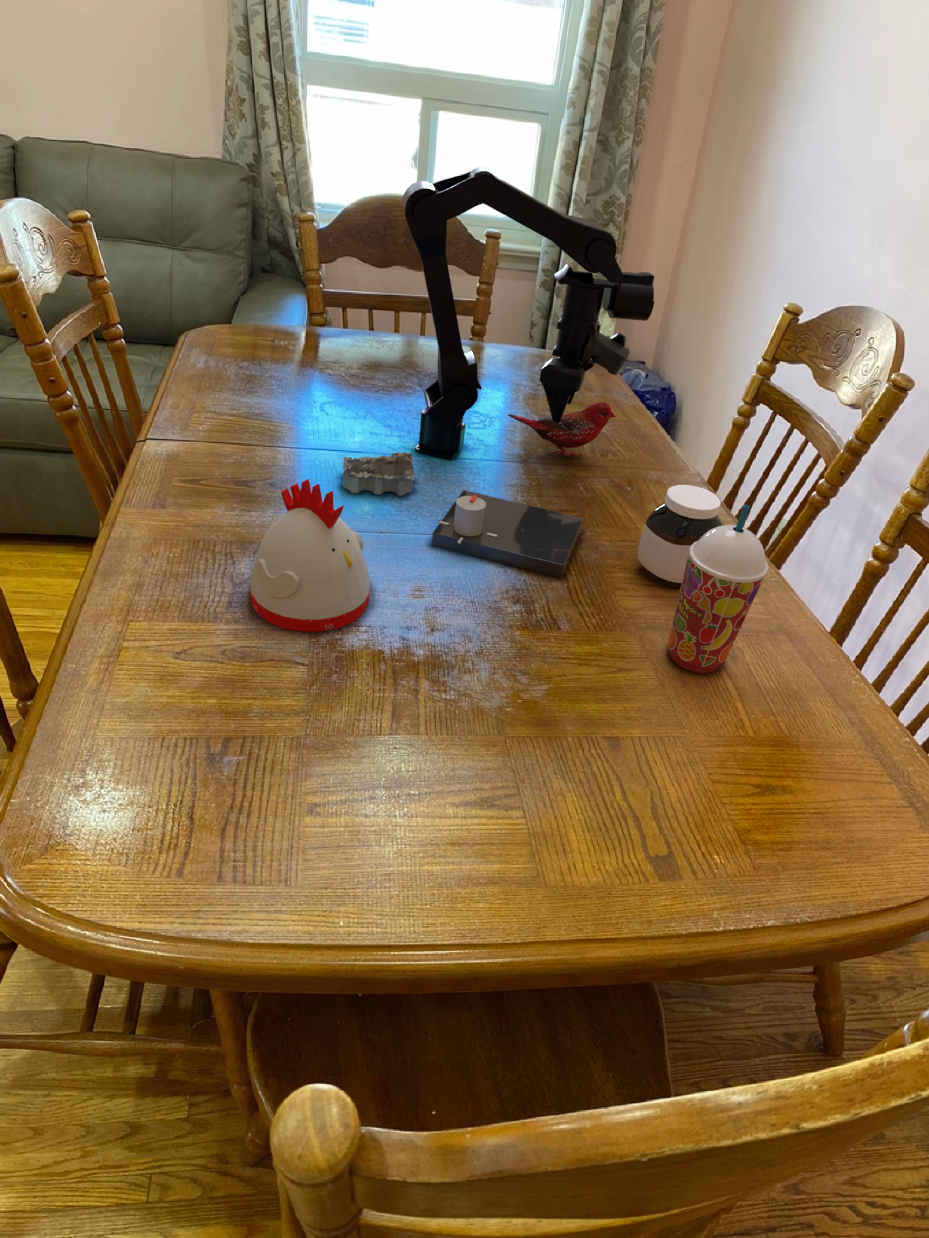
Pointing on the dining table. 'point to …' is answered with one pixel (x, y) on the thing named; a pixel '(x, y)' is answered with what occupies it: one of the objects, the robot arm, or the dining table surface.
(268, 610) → the kitchen timer
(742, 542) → the smoothie
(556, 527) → the stove
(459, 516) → the stove knob
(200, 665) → the dining table surface
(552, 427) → the decorative bird figurine
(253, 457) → the dining table surface
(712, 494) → the spread jar
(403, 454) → the egg carton
